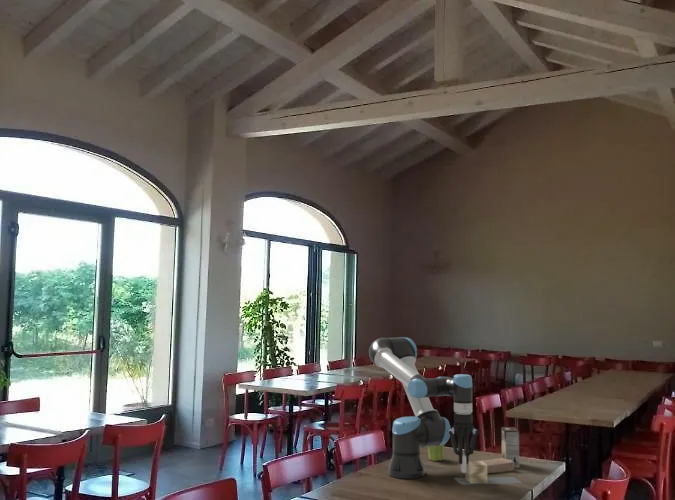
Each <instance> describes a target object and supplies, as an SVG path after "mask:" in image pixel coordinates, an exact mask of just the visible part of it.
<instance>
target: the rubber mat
mask: <svg viewBox="0 0 675 500" xmlns="http://www.w3.org/2000/svg"><path fill="white" fill-rule="evenodd" d="M453 479H454V480H455V481H456V482H457V483H459V484H460V485H461V486H462V485H463V486H464V485H501V484H502V485H504V484H505V485H506V484H507V485H508V484H523V482H521V481H520V480H519V479H518V478H516V477H515V476H493V477H492V476H491V477H489V476H487V483H470V482H469V481H467V480H466V477H454V478H453Z"/></svg>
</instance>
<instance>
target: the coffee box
mask: <svg viewBox="0 0 675 500" xmlns="http://www.w3.org/2000/svg"><path fill="white" fill-rule="evenodd" d="M500 430H501V433H500V434H501V436H500V437H501V438H500V439H501V442H500V443H501V458H504V459H509V460H512V461H513V462H514V468H520V430H518V429H517V428H516V427H515V426H510V427H509V426H501V427H500Z"/></svg>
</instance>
